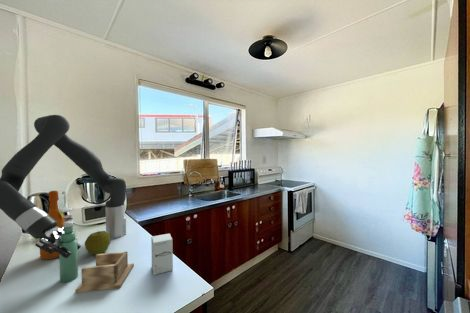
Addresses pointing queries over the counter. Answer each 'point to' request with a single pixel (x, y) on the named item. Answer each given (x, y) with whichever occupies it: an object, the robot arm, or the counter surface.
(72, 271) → the green bottle
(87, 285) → the U stand
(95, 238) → the apple
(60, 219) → the wine bottle
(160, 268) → the supplement box
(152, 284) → the counter surface
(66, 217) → the french press
